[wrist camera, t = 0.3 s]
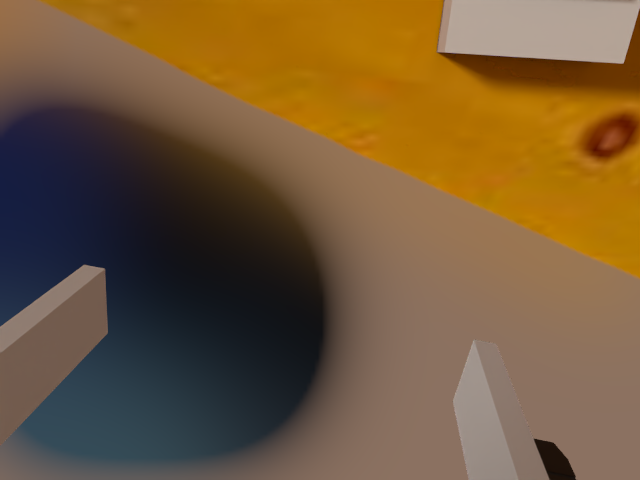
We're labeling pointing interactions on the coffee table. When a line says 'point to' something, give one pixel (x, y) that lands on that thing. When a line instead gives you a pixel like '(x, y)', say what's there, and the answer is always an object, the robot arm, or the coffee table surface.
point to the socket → (539, 28)
